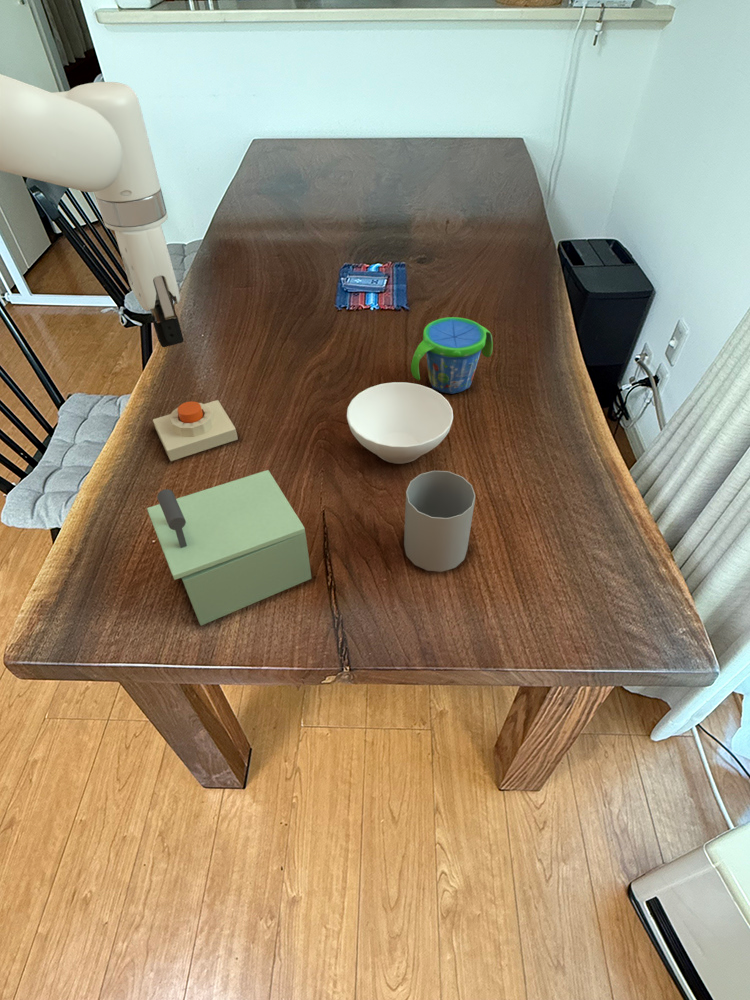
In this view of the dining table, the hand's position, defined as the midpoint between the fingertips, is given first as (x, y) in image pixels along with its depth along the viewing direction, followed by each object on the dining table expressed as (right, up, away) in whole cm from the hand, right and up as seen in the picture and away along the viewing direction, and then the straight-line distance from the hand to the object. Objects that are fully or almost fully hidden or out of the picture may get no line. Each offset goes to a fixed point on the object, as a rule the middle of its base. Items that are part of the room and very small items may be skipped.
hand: (171, 342), depth 85 cm
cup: (+37, -29, -5) cm, 47 cm away
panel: (0, -12, +12) cm, 17 cm away
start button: (0, -9, +9) cm, 13 cm away
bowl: (+33, -14, +9) cm, 37 cm away
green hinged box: (+12, -32, -8) cm, 35 cm away
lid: (+11, -25, -14) cm, 31 cm away
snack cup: (+42, -2, +22) cm, 48 cm away
